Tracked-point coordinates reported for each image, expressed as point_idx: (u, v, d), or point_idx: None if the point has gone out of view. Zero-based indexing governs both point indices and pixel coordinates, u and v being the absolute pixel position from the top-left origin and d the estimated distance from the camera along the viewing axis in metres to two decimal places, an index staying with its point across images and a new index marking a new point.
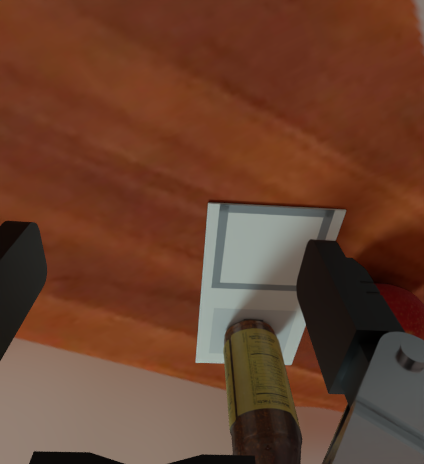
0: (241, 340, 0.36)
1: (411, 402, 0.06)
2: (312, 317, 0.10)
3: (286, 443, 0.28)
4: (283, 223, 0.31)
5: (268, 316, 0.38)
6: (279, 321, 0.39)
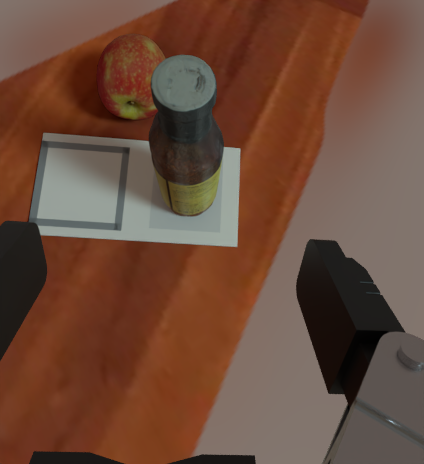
0: (162, 196, 0.37)
1: (411, 402, 0.06)
2: (312, 317, 0.10)
3: (152, 124, 0.28)
4: (51, 175, 0.39)
5: None
6: None
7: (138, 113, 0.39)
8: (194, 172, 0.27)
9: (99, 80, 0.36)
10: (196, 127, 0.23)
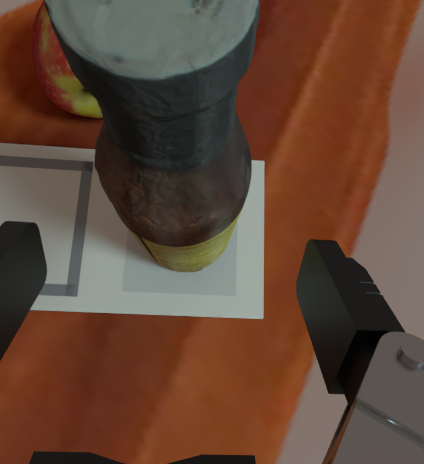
0: None
1: (411, 402, 0.06)
2: (312, 317, 0.10)
3: None
4: None
5: None
6: None
7: None
8: (194, 228, 0.13)
9: (34, 52, 0.22)
10: (196, 131, 0.08)
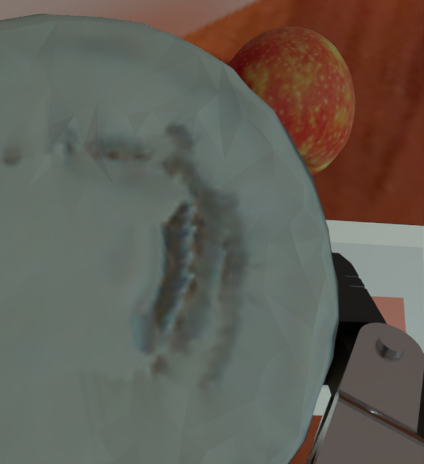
0: None
1: (390, 391, 0.06)
2: None
3: None
4: None
5: None
6: None
7: None
8: None
9: None
10: None
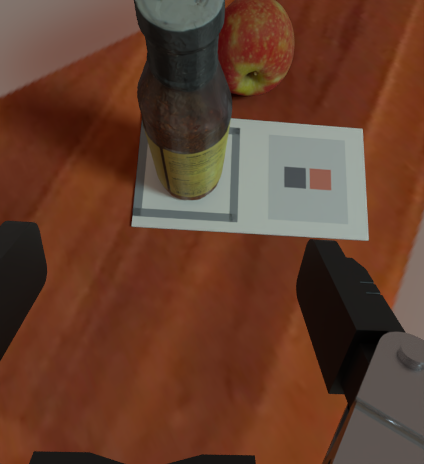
0: (158, 174, 0.31)
1: (411, 402, 0.06)
2: (312, 317, 0.10)
3: (141, 74, 0.22)
4: None
5: (278, 162, 0.35)
6: (286, 149, 0.36)
7: (256, 87, 0.34)
8: (195, 134, 0.21)
9: (220, 47, 0.31)
10: (197, 63, 0.17)
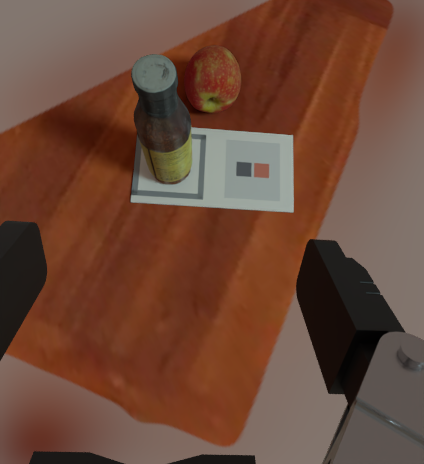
0: (148, 166, 0.47)
1: (411, 402, 0.06)
2: (312, 317, 0.10)
3: (136, 106, 0.37)
4: None
5: (232, 158, 0.51)
6: (238, 150, 0.51)
7: (215, 107, 0.49)
8: (167, 141, 0.37)
9: (189, 81, 0.47)
10: (164, 105, 0.33)
